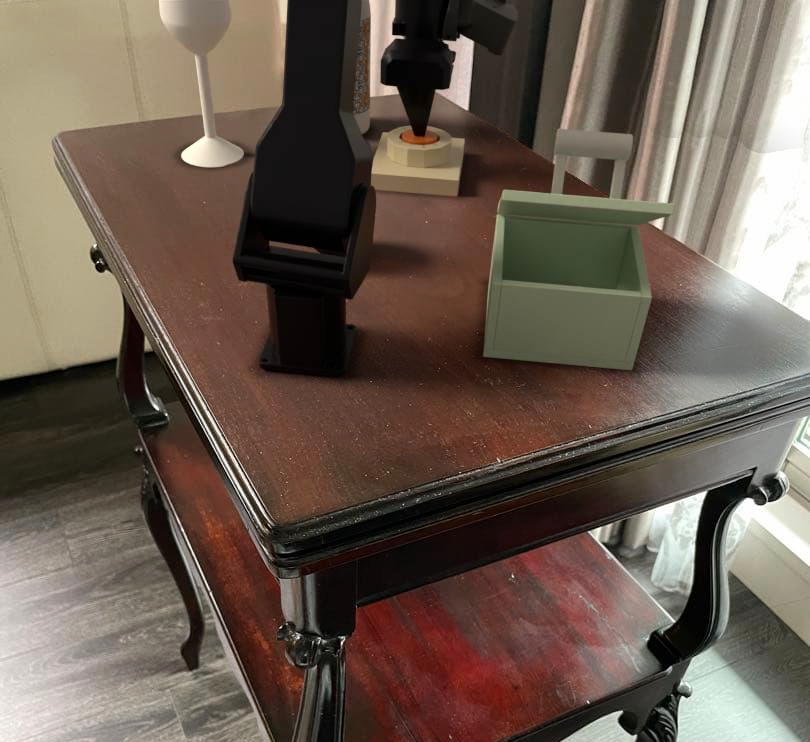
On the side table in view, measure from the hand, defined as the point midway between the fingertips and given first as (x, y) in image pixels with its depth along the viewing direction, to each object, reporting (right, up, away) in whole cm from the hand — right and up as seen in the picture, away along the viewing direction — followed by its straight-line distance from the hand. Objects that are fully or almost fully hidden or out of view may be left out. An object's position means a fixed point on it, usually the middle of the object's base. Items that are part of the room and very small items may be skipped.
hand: (419, 135), depth 86 cm
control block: (0, -3, +3) cm, 4 cm away
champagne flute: (-22, 0, +4) cm, 22 cm away
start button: (0, -1, +1) cm, 2 cm away
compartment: (+11, -24, -17) cm, 32 cm away
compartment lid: (+11, -17, -24) cm, 32 cm away
